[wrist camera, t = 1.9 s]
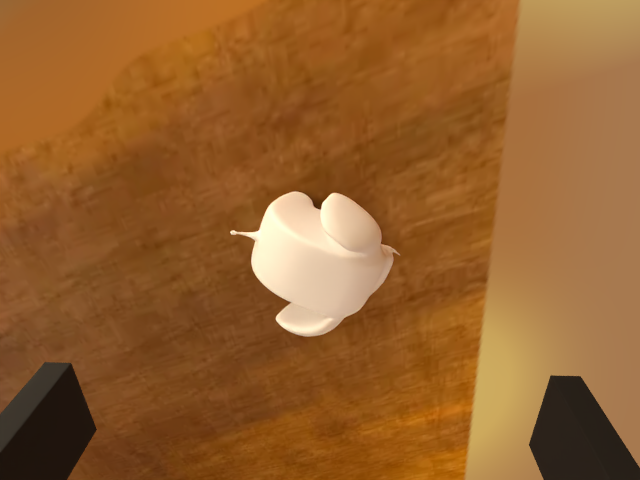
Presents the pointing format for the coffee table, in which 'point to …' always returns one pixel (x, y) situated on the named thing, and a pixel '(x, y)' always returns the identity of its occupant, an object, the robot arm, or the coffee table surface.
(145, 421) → the coffee table surface
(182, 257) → the coffee table surface
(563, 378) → the robot arm
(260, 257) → the elephant figurine
